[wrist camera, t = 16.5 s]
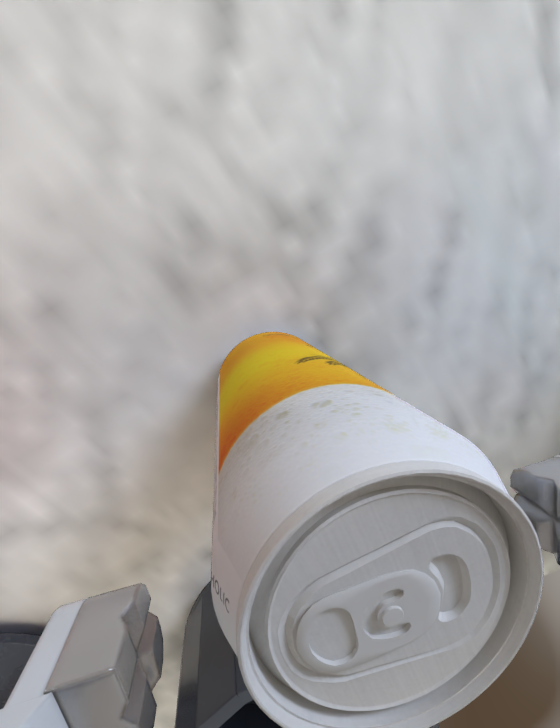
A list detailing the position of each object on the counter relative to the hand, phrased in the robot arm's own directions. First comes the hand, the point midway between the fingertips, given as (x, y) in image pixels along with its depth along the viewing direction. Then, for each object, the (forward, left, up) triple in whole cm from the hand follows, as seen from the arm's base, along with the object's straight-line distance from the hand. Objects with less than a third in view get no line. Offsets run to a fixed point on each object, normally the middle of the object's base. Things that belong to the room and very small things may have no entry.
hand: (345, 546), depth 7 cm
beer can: (0, 0, -13) cm, 13 cm away
